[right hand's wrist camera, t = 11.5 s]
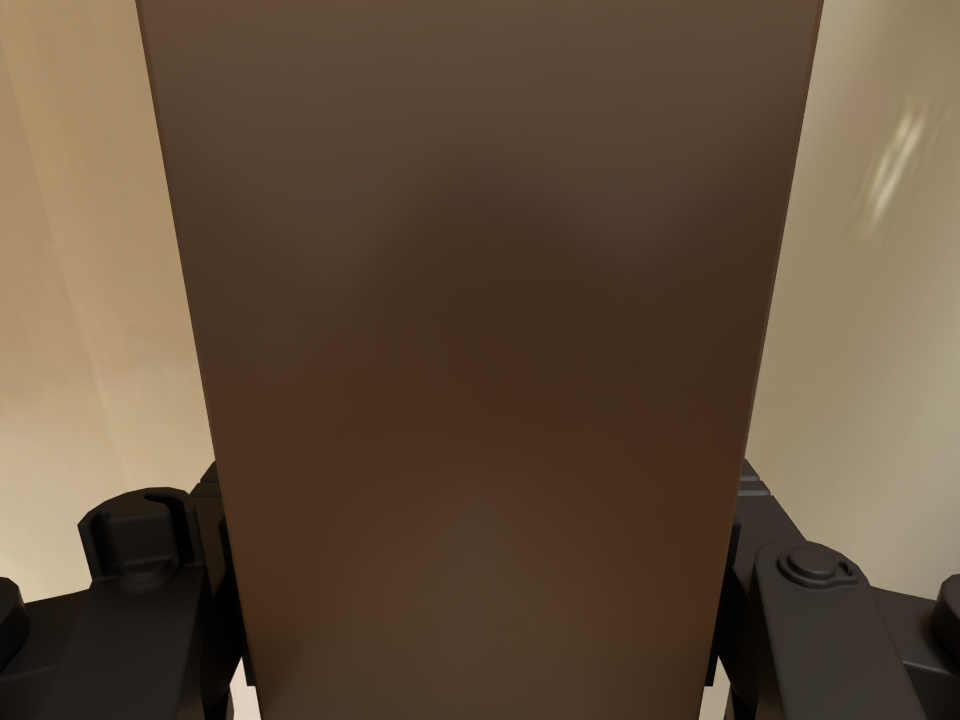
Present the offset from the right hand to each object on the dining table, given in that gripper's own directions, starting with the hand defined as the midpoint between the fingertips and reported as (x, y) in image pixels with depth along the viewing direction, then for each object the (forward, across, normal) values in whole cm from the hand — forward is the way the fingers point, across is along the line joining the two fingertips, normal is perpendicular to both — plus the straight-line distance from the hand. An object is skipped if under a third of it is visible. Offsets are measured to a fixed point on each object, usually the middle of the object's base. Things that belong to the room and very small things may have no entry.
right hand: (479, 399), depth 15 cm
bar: (+1, 0, -10) cm, 10 cm away
